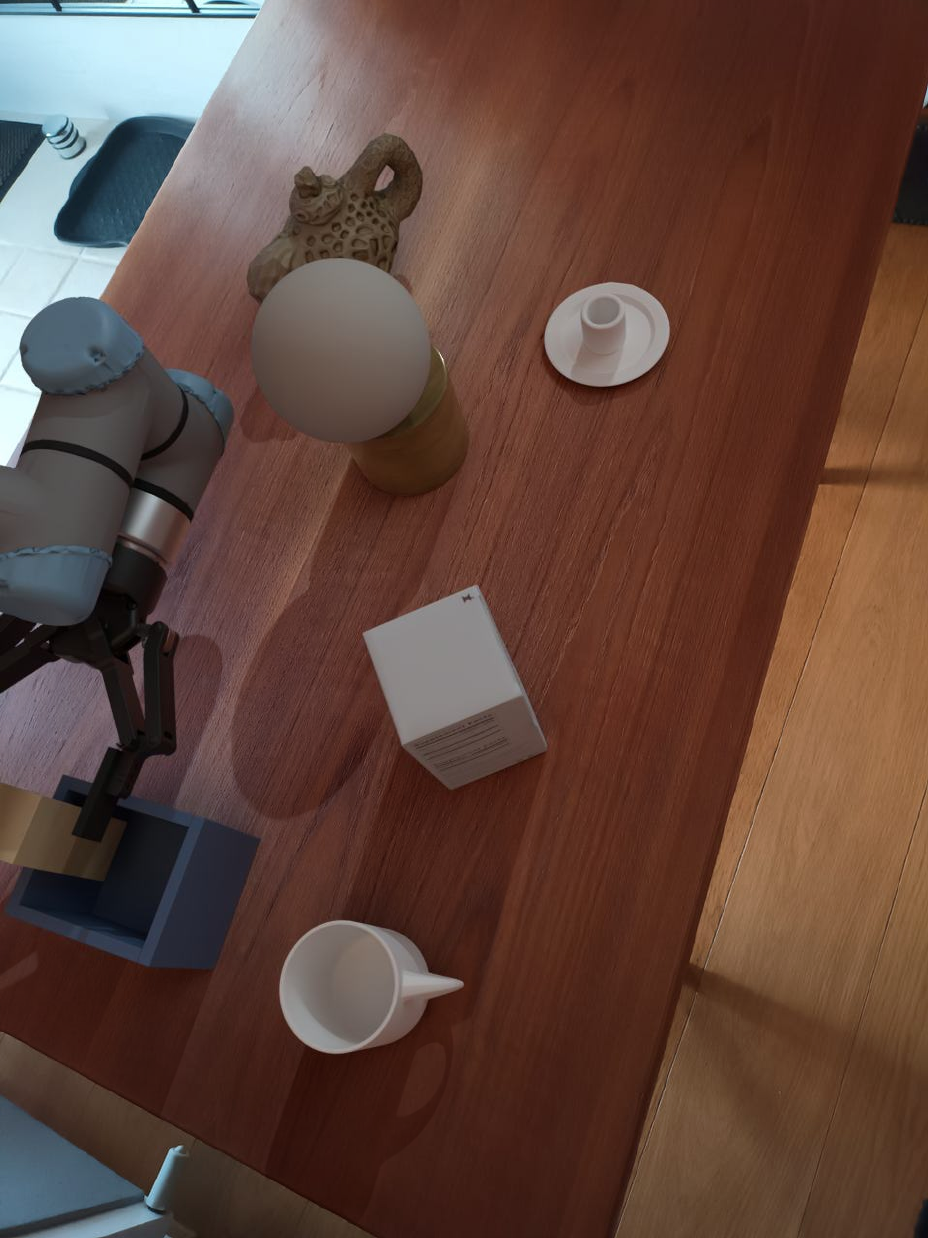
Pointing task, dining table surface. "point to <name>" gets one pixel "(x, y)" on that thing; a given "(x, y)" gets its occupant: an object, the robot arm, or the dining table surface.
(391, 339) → the lamp
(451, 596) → the supplement box
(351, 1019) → the mug
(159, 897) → the blue bin
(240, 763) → the dining table surface
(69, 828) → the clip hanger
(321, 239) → the teapot
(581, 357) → the candle holder
